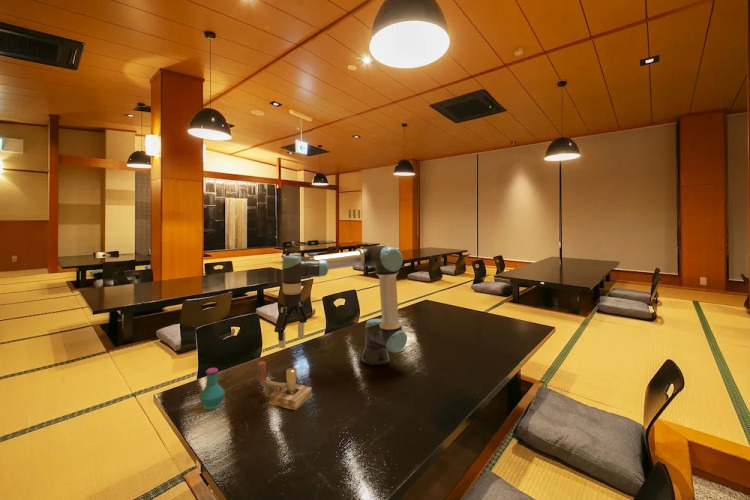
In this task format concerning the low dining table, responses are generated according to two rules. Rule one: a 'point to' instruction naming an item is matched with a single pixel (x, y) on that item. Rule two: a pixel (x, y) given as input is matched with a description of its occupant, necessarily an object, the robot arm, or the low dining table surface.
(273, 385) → the pin
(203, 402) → the perfume bottle
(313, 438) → the low dining table surface
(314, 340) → the low dining table surface
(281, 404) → the dock
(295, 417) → the low dining table surface
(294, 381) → the tan rounded cylinder
